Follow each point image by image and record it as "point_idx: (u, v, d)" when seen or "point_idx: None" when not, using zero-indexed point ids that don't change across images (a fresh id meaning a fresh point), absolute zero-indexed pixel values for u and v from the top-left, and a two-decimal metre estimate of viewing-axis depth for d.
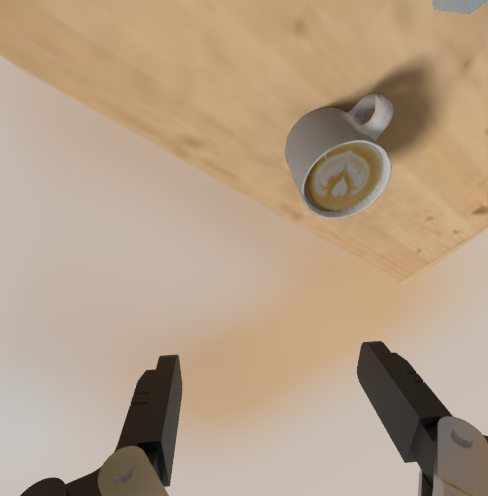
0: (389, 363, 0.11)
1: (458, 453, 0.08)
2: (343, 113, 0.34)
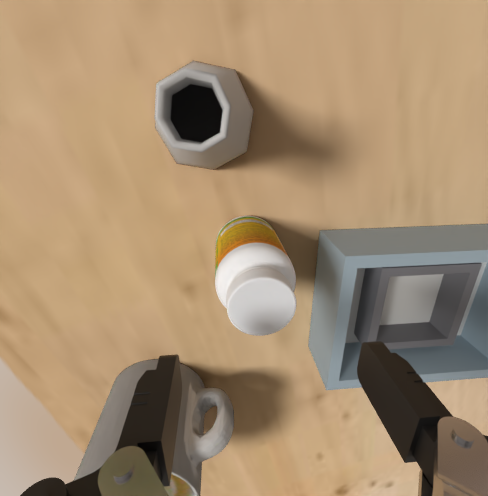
0: (389, 363, 0.11)
1: (458, 453, 0.08)
2: (192, 387, 0.28)
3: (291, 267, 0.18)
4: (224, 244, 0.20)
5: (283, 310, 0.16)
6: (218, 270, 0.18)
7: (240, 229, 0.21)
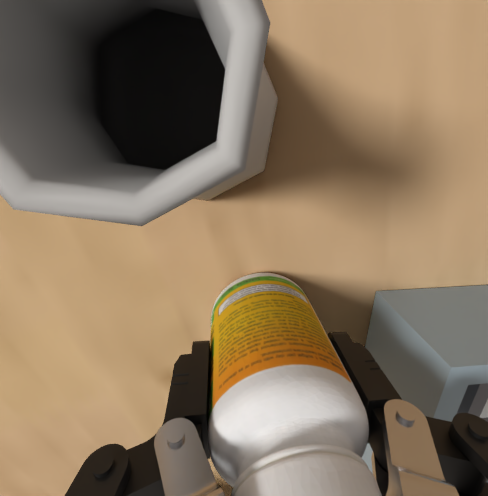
0: (349, 352, 0.11)
1: (398, 431, 0.08)
2: None
3: (364, 415, 0.09)
4: (225, 345, 0.11)
5: None
6: (214, 421, 0.09)
7: (255, 311, 0.11)
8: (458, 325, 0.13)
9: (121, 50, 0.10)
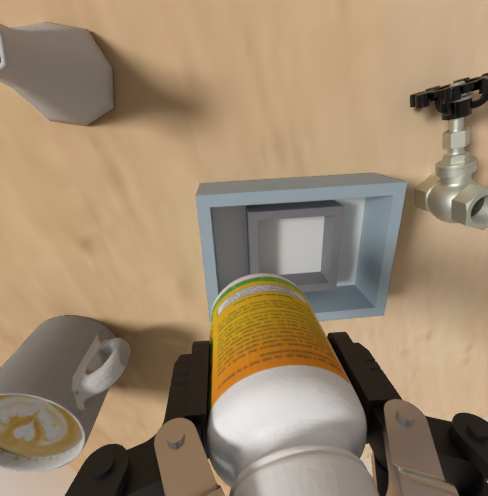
0: (349, 351, 0.11)
1: (398, 431, 0.08)
2: (98, 339, 0.30)
3: (362, 415, 0.09)
4: (224, 346, 0.11)
5: None
6: (212, 422, 0.09)
7: (254, 312, 0.11)
8: (223, 188, 0.24)
9: None
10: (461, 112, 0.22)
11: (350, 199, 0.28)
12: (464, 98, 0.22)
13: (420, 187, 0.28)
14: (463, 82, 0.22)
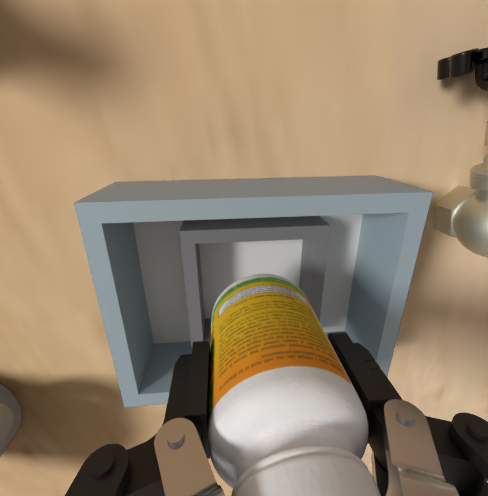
0: (349, 352, 0.11)
1: (398, 431, 0.08)
2: None
3: (363, 416, 0.09)
4: (225, 347, 0.11)
5: None
6: (214, 423, 0.09)
7: (255, 313, 0.11)
8: (137, 191, 0.15)
9: None
10: None
11: None
12: None
13: (443, 203, 0.20)
14: None
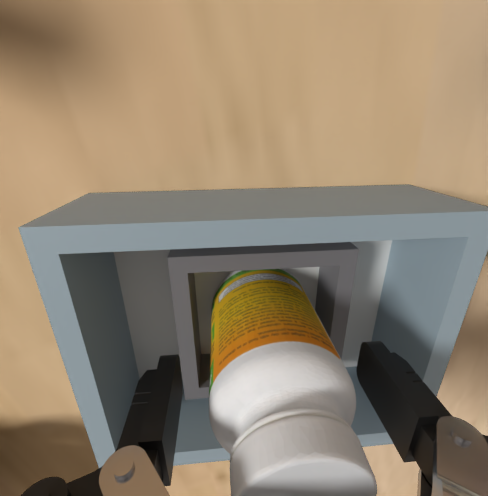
0: (388, 363, 0.11)
1: (457, 452, 0.08)
2: None
3: (351, 387, 0.10)
4: (225, 327, 0.12)
5: None
6: (214, 393, 0.10)
7: (252, 297, 0.12)
8: (111, 207, 0.11)
9: None
10: None
11: None
12: None
13: None
14: None
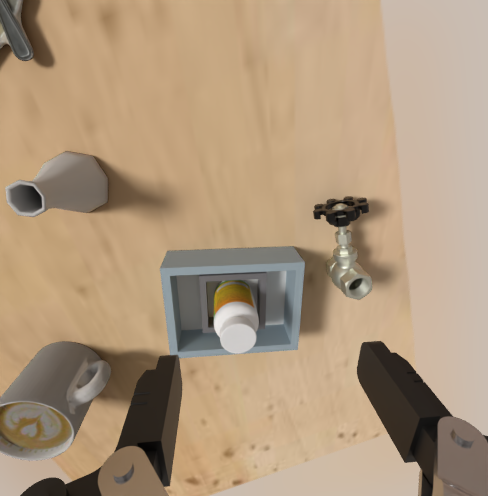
0: (389, 363, 0.11)
1: (458, 453, 0.08)
2: (87, 360, 0.40)
3: (255, 315, 0.33)
4: (218, 300, 0.35)
5: (249, 340, 0.31)
6: (215, 317, 0.33)
7: (228, 290, 0.35)
8: (181, 259, 0.35)
9: None
10: (342, 224, 0.34)
11: None
12: (342, 216, 0.34)
13: (328, 262, 0.40)
14: (342, 205, 0.34)
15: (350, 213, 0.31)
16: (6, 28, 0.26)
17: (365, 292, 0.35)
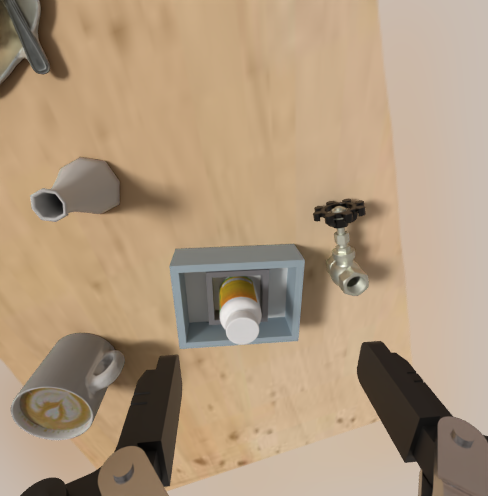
0: (389, 363, 0.11)
1: (458, 453, 0.08)
2: (102, 350, 0.43)
3: (258, 309, 0.35)
4: (224, 295, 0.37)
5: (253, 332, 0.33)
6: (221, 310, 0.35)
7: (233, 285, 0.38)
8: (189, 257, 0.37)
9: None
10: (340, 225, 0.36)
11: None
12: (341, 218, 0.36)
13: (328, 260, 0.42)
14: (340, 208, 0.36)
15: (347, 216, 0.33)
16: (24, 44, 0.28)
17: (362, 289, 0.37)
